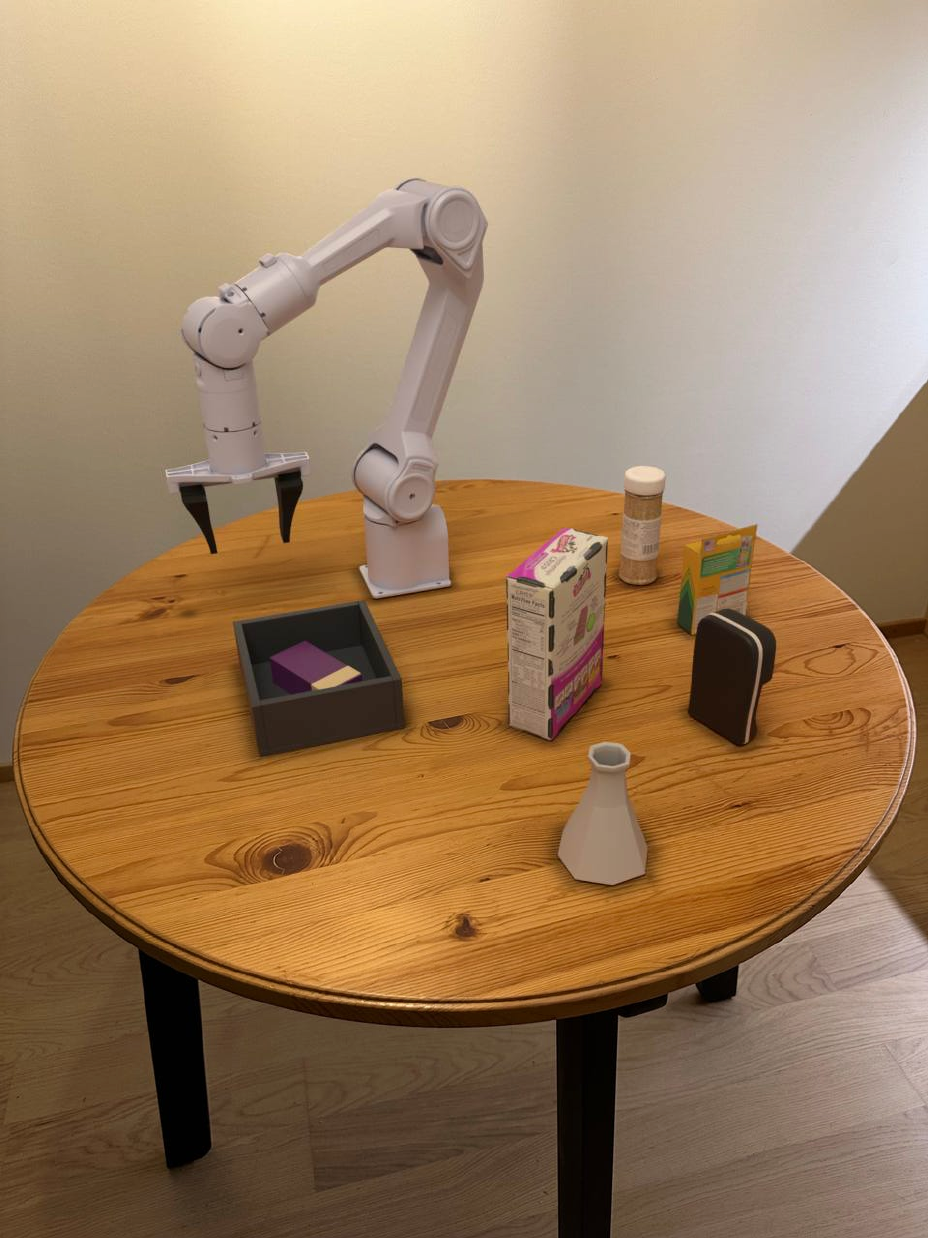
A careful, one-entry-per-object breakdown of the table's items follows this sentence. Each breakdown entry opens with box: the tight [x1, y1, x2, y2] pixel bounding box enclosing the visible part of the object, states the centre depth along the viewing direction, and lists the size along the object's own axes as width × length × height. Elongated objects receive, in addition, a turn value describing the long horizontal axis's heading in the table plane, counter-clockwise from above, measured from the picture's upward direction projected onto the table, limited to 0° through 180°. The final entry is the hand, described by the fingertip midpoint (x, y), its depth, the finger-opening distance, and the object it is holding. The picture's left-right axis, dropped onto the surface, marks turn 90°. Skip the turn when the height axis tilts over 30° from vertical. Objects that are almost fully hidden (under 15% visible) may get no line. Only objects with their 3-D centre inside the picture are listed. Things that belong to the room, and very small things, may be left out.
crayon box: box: [676, 523, 758, 637], centre depth 106 cm, size 7×3×12 cm, turn 115°
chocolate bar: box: [270, 641, 362, 695], centre depth 97 cm, size 4×9×3 cm, turn 45°
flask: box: [557, 741, 649, 886], centre depth 76 cm, size 7×7×10 cm
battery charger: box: [687, 608, 777, 746], centre depth 90 cm, size 7×4×11 cm, turn 35°
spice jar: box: [618, 465, 667, 586], centre depth 115 cm, size 5×5×14 cm
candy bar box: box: [505, 527, 609, 742], centre depth 92 cm, size 11×5×16 cm, turn 148°
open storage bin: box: [232, 599, 405, 758], centre depth 97 cm, size 14×16×6 cm
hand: (249, 544), depth 107 cm, fingers open, 7 cm apart
